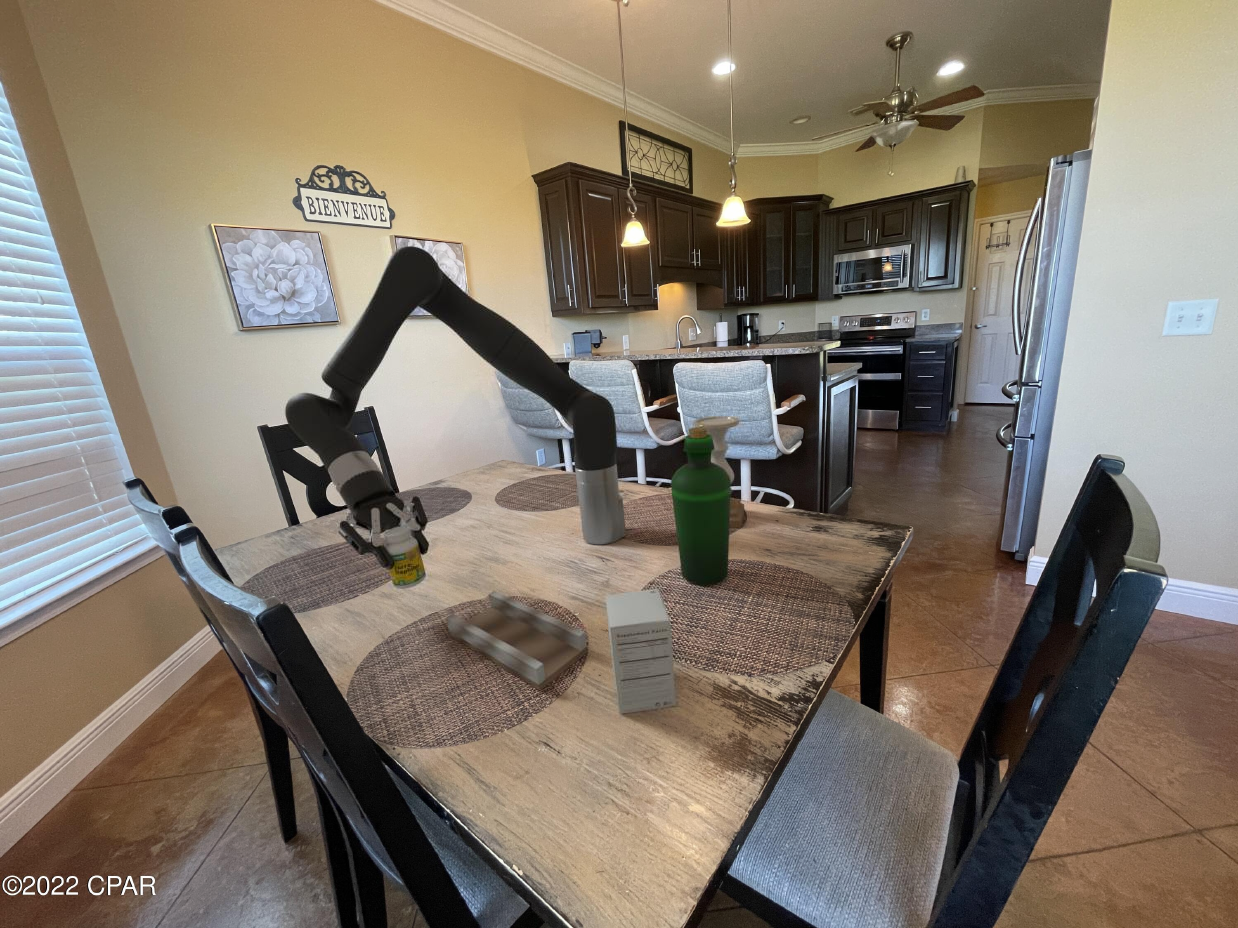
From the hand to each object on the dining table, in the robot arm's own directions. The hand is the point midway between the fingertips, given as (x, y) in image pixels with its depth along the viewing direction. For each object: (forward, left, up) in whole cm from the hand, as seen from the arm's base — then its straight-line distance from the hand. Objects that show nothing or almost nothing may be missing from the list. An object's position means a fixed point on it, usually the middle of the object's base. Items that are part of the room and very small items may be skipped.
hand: (408, 558), depth 80 cm
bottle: (-50, +11, -12) cm, 52 cm away
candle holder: (-67, -11, -12) cm, 69 cm away
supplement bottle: (+1, -2, -5) cm, 5 cm away
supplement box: (-28, +33, -12) cm, 45 cm away
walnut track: (-14, +15, -12) cm, 23 cm away
